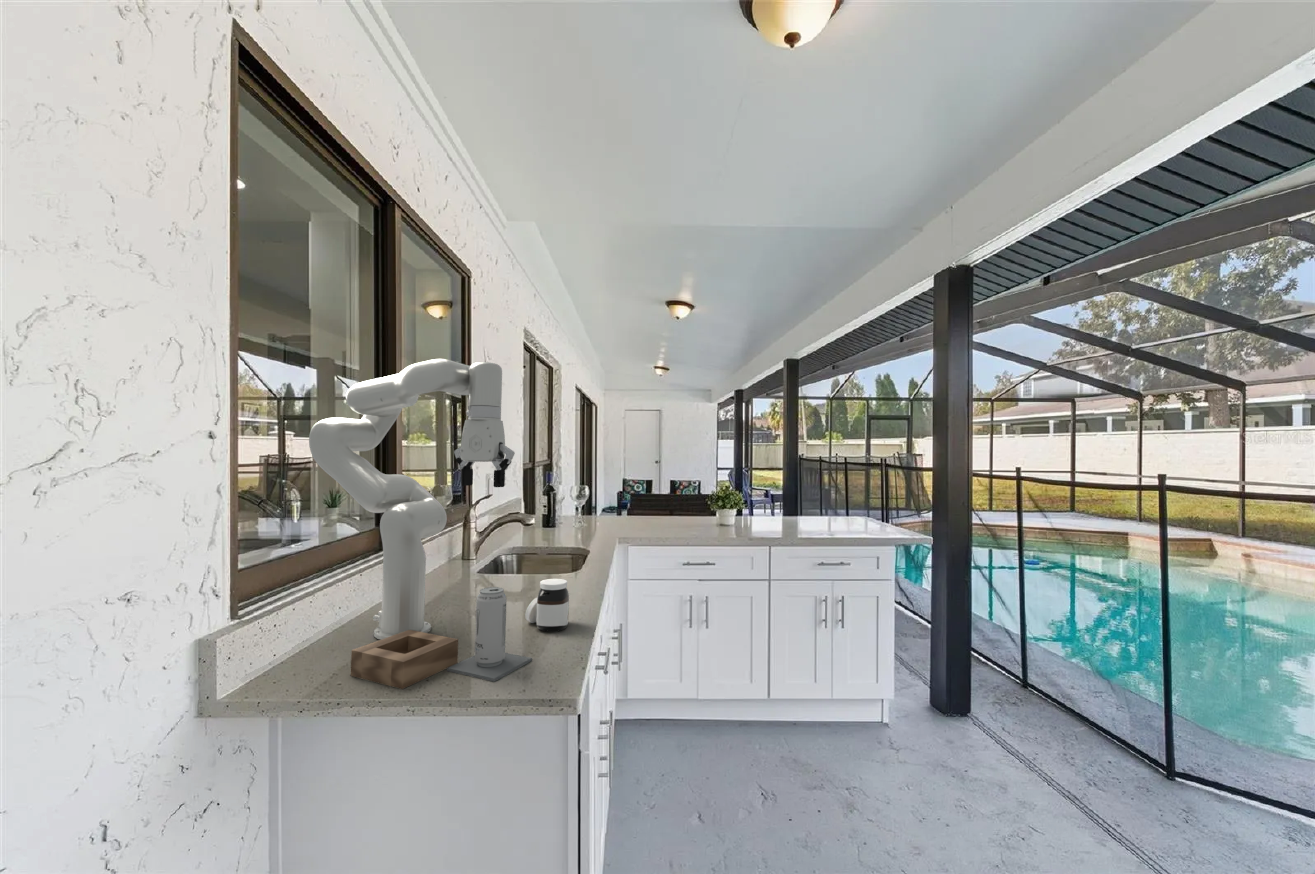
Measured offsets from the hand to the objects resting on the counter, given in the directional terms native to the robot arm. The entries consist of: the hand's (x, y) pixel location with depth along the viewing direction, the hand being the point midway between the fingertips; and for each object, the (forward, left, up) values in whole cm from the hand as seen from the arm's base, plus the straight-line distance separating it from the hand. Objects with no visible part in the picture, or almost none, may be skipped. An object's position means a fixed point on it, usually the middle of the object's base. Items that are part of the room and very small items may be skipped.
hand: (482, 486), depth 130 cm
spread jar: (+8, +16, -37) cm, 41 cm away
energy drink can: (+13, -11, -36) cm, 40 cm away
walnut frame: (-1, -20, -36) cm, 41 cm away
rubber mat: (+13, -11, -36) cm, 40 cm away
